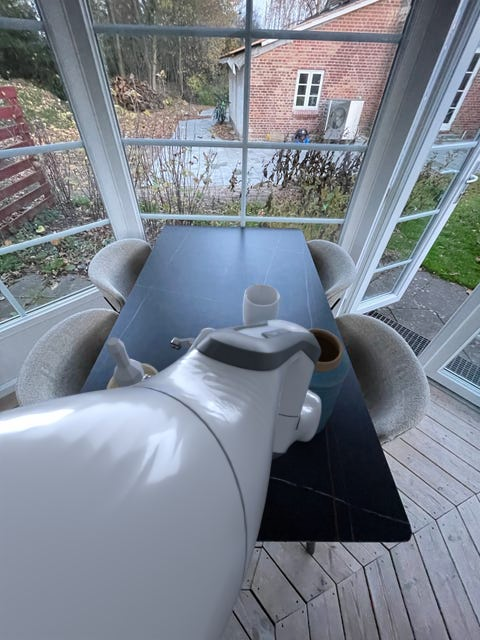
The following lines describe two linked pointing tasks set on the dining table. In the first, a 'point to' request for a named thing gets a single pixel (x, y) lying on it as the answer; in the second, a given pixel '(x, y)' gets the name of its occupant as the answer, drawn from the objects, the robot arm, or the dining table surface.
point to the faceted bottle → (124, 364)
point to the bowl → (147, 371)
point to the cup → (260, 304)
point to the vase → (328, 372)
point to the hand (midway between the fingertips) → (158, 359)
